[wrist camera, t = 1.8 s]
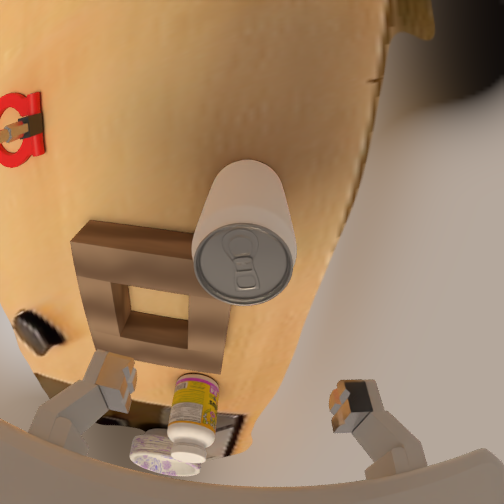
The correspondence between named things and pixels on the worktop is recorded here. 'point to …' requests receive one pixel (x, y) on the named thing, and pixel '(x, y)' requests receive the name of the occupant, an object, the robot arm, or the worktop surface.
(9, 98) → the tow hook
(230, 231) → the can
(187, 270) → the holder
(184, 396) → the supplement bottle
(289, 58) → the worktop surface
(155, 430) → the paper bowls
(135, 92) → the worktop surface
